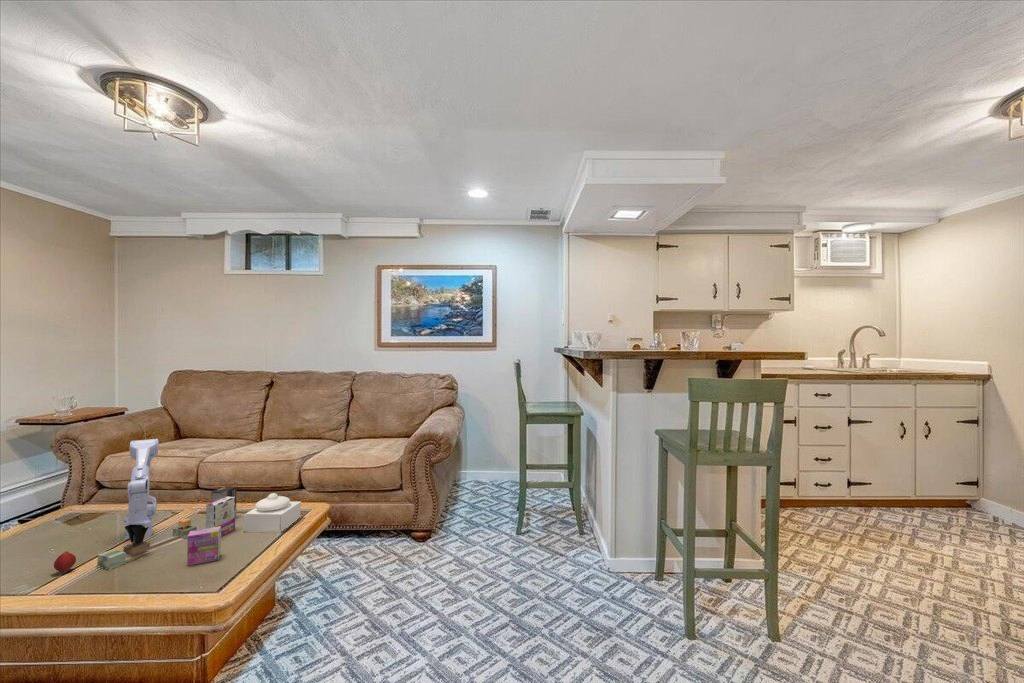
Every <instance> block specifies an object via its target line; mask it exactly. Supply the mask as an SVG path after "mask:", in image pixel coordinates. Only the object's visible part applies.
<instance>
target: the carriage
mask: <svg viewBox="0 0 1024 683" xmlns="http://www.w3.org/2000/svg"><path fill="white" fill-rule="evenodd" d="M150 545H151V543H150V542H148V541H144V540H143V542H142V543H139V544H136V543H135V535H133V543H130V544H128V545H124V546H123V551H122V552H126V554H131V555H134V554H137V553H139V552H142V551H145V550H147V549H150Z"/></svg>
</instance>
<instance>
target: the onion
mask: <svg viewBox="0 0 1024 683" xmlns="http://www.w3.org/2000/svg"><path fill="white" fill-rule="evenodd" d="M76 561H77V557H76V556H75V554H74V553H71V552H69V550H65V551H63V553H61V554H59V556H57V558H56V559H55V560H54V561H53V562H54V563H53V568H54V569H55V570H56V571H58V572H61V573H67V572H68V571H70V569H71V568H73V567H74V566H75V564H76ZM66 571H67V572H66Z"/></svg>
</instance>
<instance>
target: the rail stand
mask: <svg viewBox="0 0 1024 683" xmlns="http://www.w3.org/2000/svg"><path fill="white" fill-rule="evenodd" d="M194 530H198V529H197V526H194V525H188V526H187V529H184V530H183V527H180V526H179V525H178V526H177V527H173V528H172V537H171V536H170V537H169V538H166V539H163V540H160V541H157V542H155V543H152V544H150V549H147V550H145V551H142V552H139V553H137V554H134V555H131V554H127V553H126V552H123V551H121V550H118V549H114V548H113V549H110V550H107V551H104V552H101V553H99V554H97V562H96V563H97V567H98V566H100V567H99V568H101V567H103V568H102V569H105V568H107V569H106V570H108V569H111V570H113V569H116V568H119V567H121V566H124V565H126V564H127V563H126V562H128V563H130V562H133V561H135V559H136V560H138V559H141V558H140V557H141V556H142V555H143V556H144V554H148V553H151V552H153V551H156V550H157V549H161V548H164V547H166V546H169V545H172V544H174V543H176V542H179V541H183V540H186V539H188V534H189V533H190V531H194ZM132 560H133V561H132ZM129 561H130V562H129ZM123 564H124V565H123ZM120 565H121V566H120ZM118 566H119V567H118ZM115 567H116V568H115ZM112 568H113V569H112Z"/></svg>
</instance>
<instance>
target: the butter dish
mask: <svg viewBox="0 0 1024 683" xmlns="http://www.w3.org/2000/svg"><path fill="white" fill-rule="evenodd" d="M301 504H302V501H293V500H292V501H291V499H290V498H289V497H287V496H282V495H278V494H277V492H272V493H269V494H268V496H267V497H265V498H262V499H260V500H259V501H257V502H256V503H255V507H254V508H253V509H251V510H248V511H247V512H245V514H244V516H243V533H244V532H248V531H249V532H250V531H268V530H281V529H283V528H284V527H286V526H287V525H289V524H290V523H292V522H293V521H295V520H296V519H298V518H299V517H300V518H301Z"/></svg>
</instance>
